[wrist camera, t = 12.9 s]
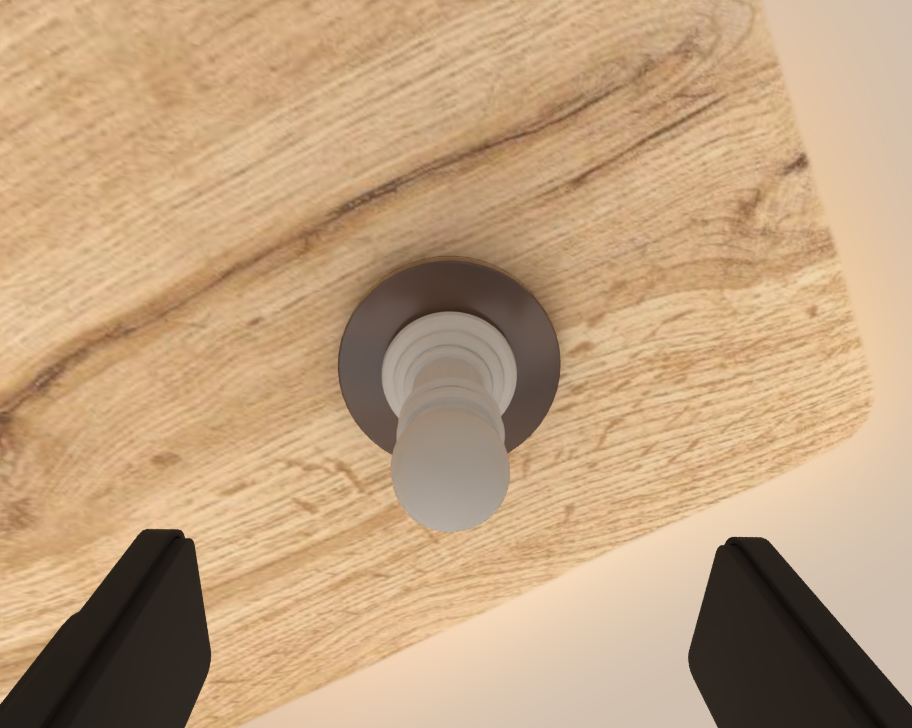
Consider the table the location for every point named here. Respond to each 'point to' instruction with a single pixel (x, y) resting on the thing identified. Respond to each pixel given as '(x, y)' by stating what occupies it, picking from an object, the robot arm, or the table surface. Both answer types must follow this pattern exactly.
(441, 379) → the chess piece
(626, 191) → the table surface
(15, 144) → the table surface
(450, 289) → the walnut chip
